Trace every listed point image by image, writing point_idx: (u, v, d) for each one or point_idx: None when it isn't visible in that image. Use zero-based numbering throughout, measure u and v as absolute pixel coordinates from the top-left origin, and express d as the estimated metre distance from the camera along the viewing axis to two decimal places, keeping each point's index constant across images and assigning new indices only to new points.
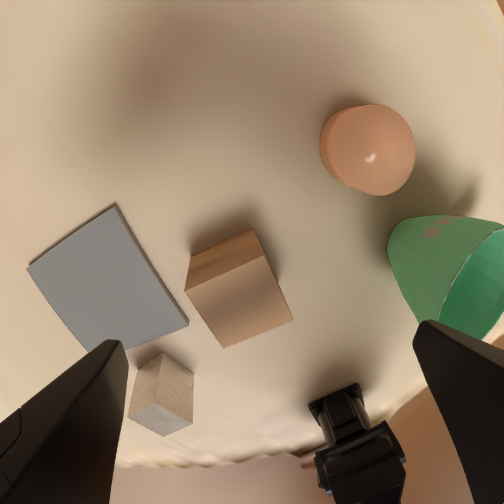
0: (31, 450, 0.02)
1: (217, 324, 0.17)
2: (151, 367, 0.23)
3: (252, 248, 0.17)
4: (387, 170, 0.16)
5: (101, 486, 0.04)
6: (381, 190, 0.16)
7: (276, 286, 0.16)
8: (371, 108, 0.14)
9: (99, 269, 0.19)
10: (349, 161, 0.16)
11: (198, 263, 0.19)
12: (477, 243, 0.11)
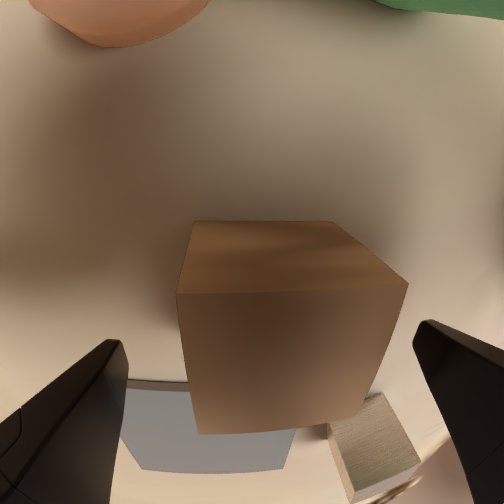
0: (31, 450, 0.02)
1: (300, 417, 0.07)
2: (331, 437, 0.14)
3: None
4: None
5: (101, 486, 0.04)
6: None
7: (291, 295, 0.05)
8: None
9: (167, 430, 0.13)
10: None
11: None
12: None
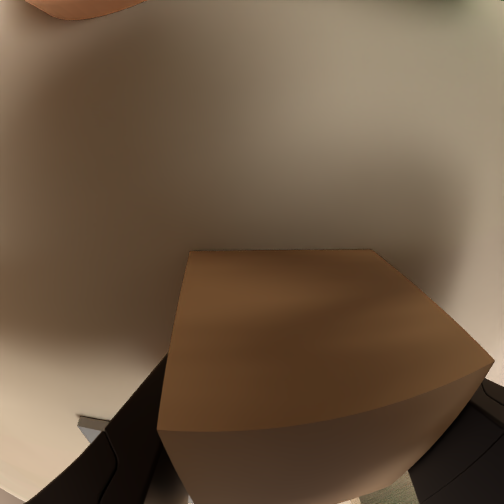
0: (135, 479, 0.03)
1: (329, 501, 0.04)
2: None
3: None
4: None
5: None
6: None
7: (355, 418, 0.03)
8: None
9: None
10: None
11: None
12: None
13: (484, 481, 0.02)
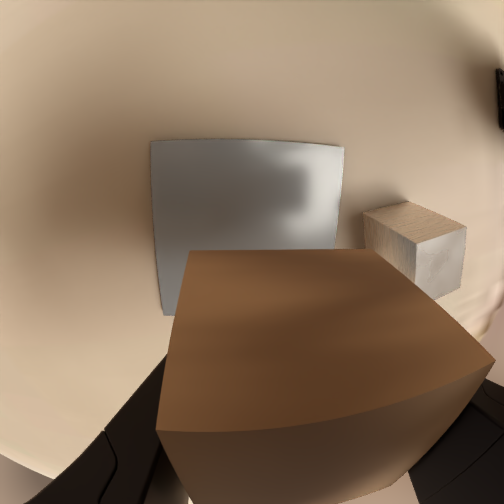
0: (135, 479, 0.03)
1: (330, 501, 0.04)
2: (372, 237, 0.17)
3: None
4: None
5: None
6: None
7: (355, 418, 0.03)
8: None
9: (212, 207, 0.15)
10: None
11: None
12: None
13: (484, 481, 0.02)
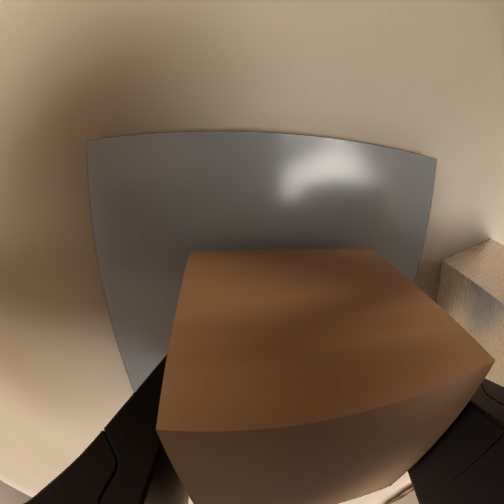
0: (135, 478, 0.03)
1: (329, 501, 0.04)
2: (455, 299, 0.09)
3: None
4: None
5: None
6: None
7: (355, 418, 0.03)
8: None
9: None
10: None
11: None
12: None
13: (484, 481, 0.02)
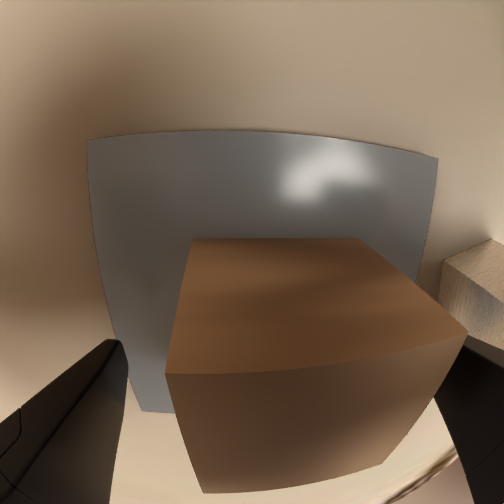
0: (31, 450, 0.02)
1: (322, 474, 0.05)
2: (456, 300, 0.09)
3: None
4: None
5: (100, 486, 0.04)
6: None
7: (333, 368, 0.03)
8: None
9: None
10: None
11: None
12: None
13: None
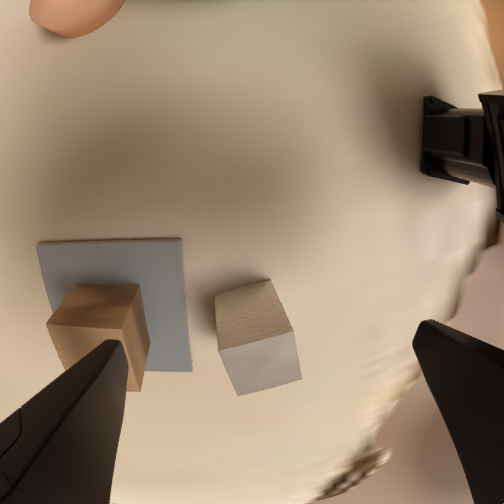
0: (31, 450, 0.02)
1: None
2: None
3: None
4: None
5: (101, 486, 0.04)
6: None
7: (76, 328, 0.12)
8: (31, 7, 0.07)
9: None
10: (72, 8, 0.08)
11: None
12: None
13: None
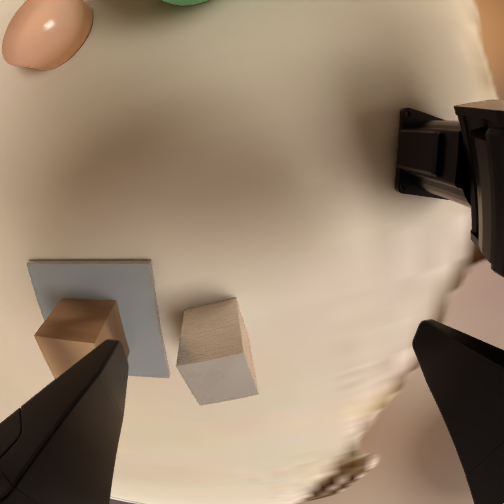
0: (31, 450, 0.02)
1: None
2: None
3: None
4: (47, 6, 0.07)
5: (100, 486, 0.04)
6: None
7: (58, 340, 0.14)
8: (5, 52, 0.08)
9: None
10: (42, 41, 0.09)
11: None
12: None
13: None
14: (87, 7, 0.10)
